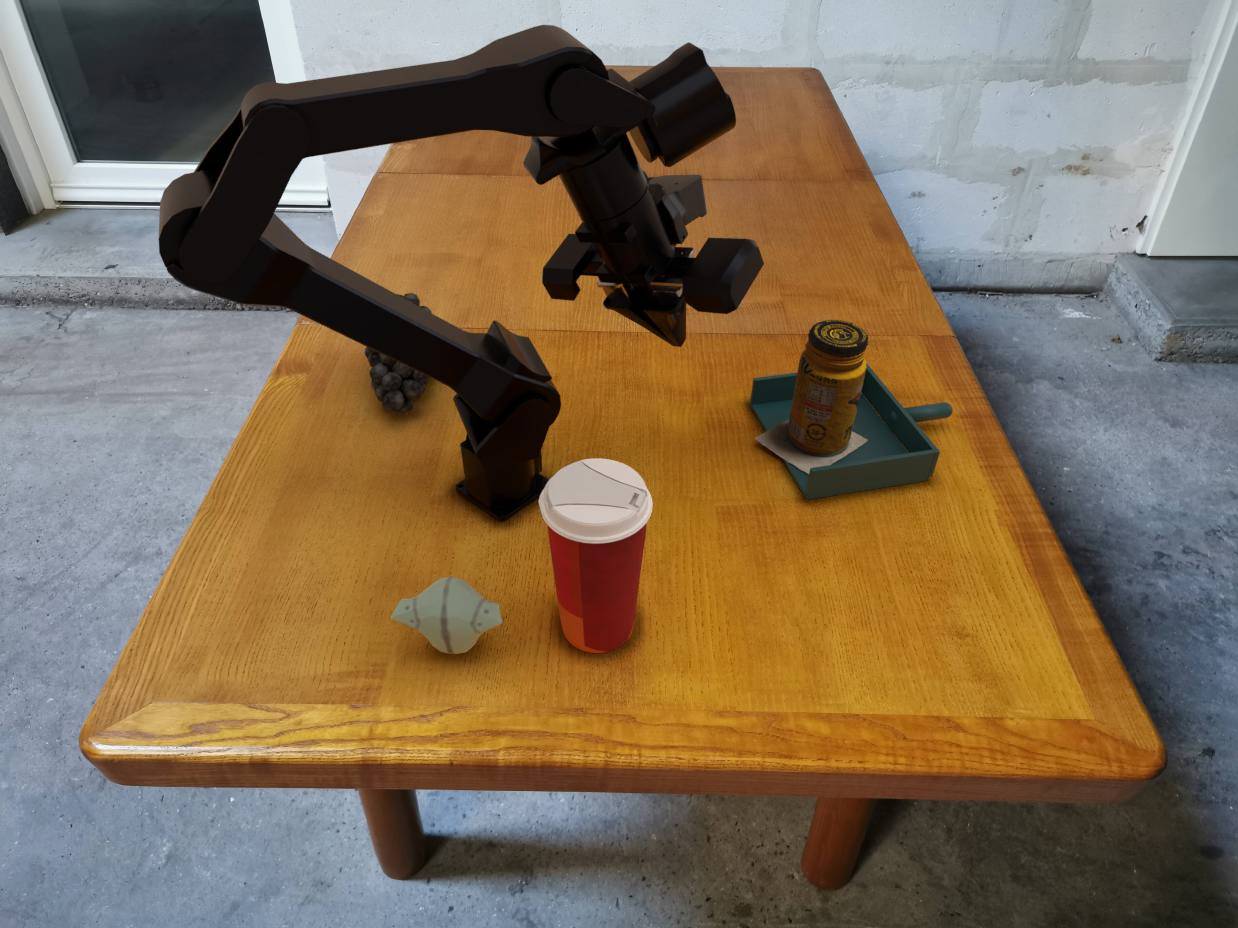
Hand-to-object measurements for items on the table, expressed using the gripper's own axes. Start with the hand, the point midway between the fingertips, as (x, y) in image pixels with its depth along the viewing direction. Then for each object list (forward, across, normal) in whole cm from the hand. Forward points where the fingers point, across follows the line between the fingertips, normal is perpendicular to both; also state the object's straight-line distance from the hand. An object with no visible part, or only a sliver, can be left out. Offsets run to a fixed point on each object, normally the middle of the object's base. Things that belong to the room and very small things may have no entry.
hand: (680, 343), depth 77 cm
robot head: (+1, +3, +32) cm, 32 cm away
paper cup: (+5, -4, +25) cm, 26 cm away
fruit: (+2, +31, +9) cm, 32 cm away
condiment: (+16, -7, -3) cm, 18 cm away
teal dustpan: (+19, -11, -7) cm, 22 cm away
